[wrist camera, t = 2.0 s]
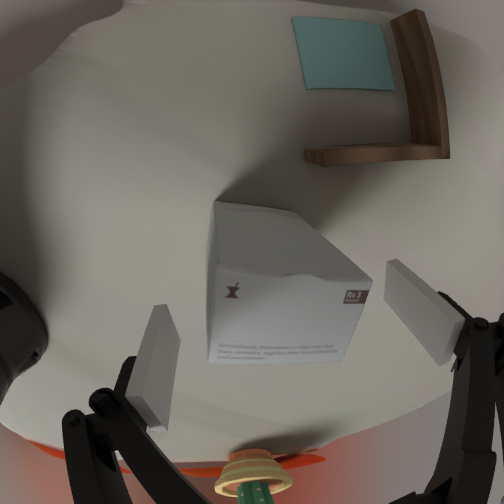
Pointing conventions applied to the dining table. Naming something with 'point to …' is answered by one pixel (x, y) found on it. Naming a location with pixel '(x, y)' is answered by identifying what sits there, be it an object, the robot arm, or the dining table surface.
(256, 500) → the potted cactus
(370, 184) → the dining table surface
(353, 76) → the pad
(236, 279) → the skincare box
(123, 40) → the dining table surface
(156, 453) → the robot arm
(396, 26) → the wooden corner bracket
